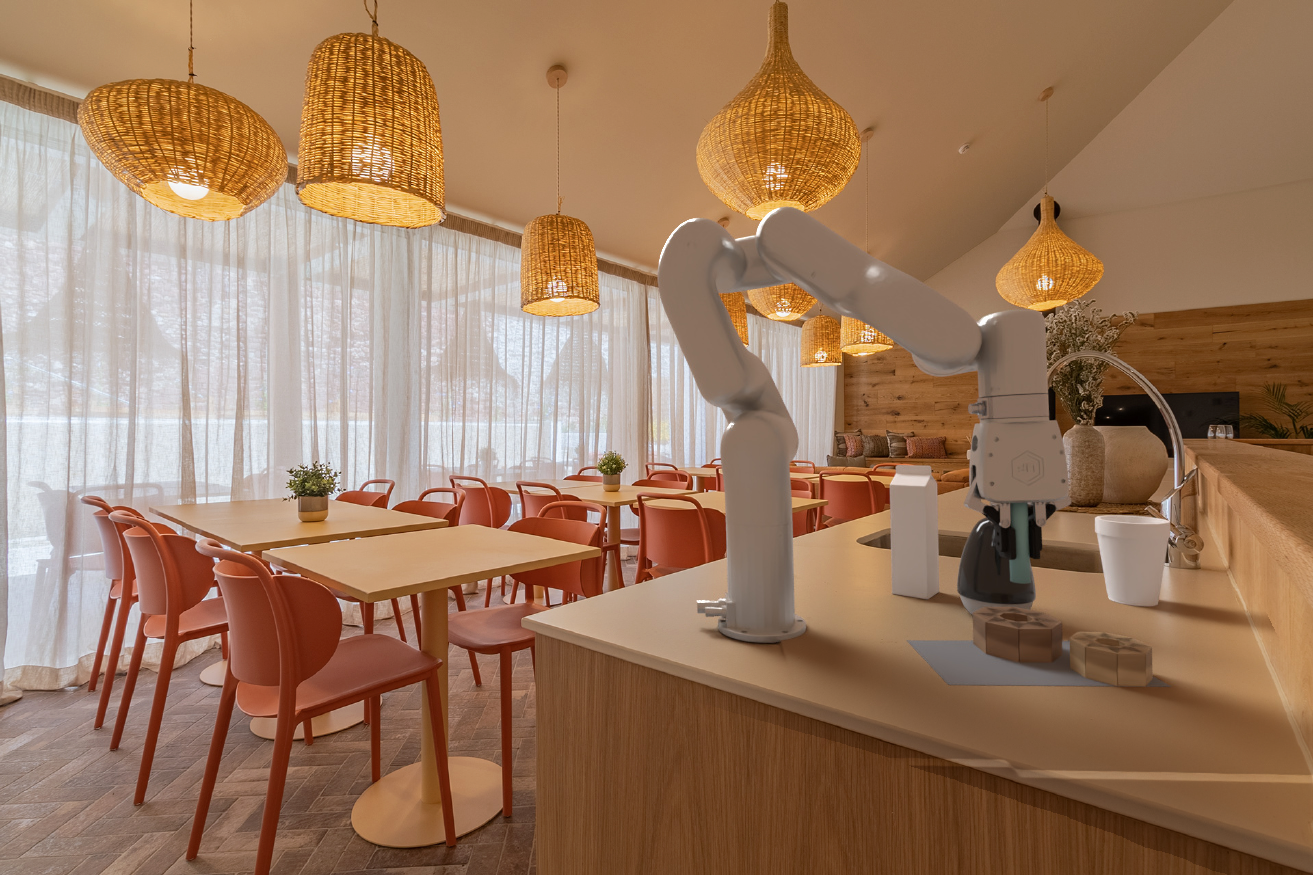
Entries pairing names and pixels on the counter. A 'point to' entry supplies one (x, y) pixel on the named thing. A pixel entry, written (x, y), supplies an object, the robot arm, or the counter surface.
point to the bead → (1017, 634)
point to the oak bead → (1111, 658)
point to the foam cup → (1133, 557)
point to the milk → (914, 532)
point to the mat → (1000, 667)
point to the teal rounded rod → (1020, 544)
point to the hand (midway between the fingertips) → (1019, 556)
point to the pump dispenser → (989, 574)
